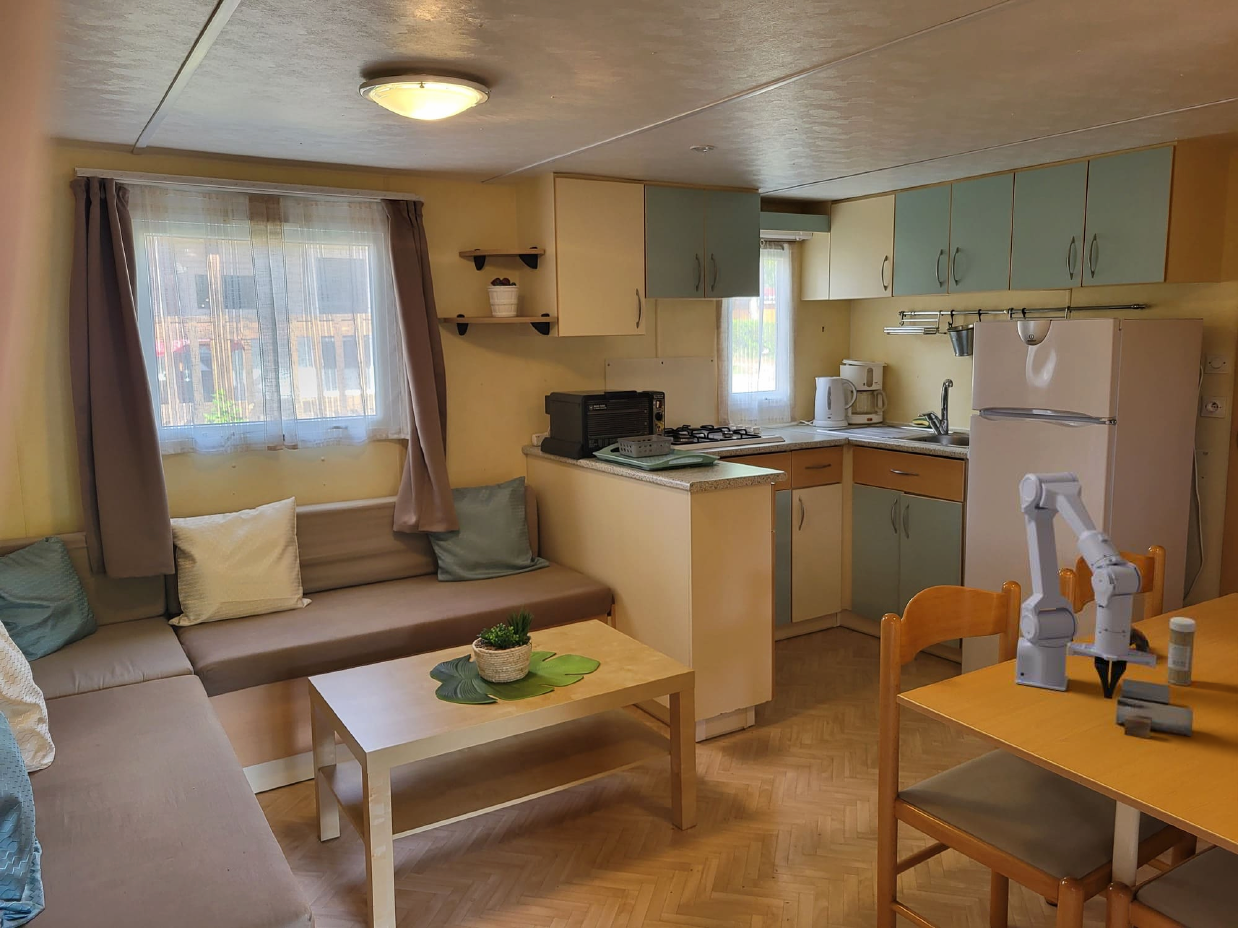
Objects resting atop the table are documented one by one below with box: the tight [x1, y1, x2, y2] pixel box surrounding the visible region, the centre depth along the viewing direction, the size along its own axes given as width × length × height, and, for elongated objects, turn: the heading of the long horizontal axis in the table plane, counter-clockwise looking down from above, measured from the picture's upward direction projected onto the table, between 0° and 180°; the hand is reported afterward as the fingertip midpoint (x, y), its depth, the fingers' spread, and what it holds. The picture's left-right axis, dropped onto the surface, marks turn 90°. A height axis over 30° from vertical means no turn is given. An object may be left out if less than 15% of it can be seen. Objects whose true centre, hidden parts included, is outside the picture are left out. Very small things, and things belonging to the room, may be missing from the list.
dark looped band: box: [1129, 624, 1152, 654], centre depth 209 cm, size 12×10×8 cm
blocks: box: [1123, 715, 1151, 740], centre depth 173 cm, size 4×10×3 cm, turn 150°
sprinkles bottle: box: [1166, 616, 1197, 687], centre depth 191 cm, size 5×5×14 cm
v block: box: [1120, 678, 1170, 706], centre depth 181 cm, size 8×8×4 cm
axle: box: [1115, 696, 1194, 737], centre depth 172 cm, size 12×5×5 cm, turn 60°
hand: (1108, 696), depth 175 cm, fingers closed
